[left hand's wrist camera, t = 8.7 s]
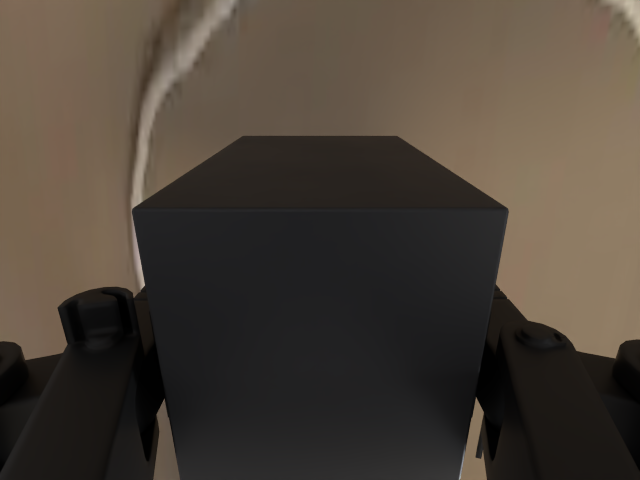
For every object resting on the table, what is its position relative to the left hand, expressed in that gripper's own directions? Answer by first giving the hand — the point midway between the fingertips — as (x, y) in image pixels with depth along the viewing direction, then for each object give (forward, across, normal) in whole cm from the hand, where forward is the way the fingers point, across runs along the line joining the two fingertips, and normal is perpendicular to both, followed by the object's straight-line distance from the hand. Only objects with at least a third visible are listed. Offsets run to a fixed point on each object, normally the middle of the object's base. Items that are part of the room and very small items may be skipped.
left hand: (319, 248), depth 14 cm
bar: (0, 0, -10) cm, 10 cm away
